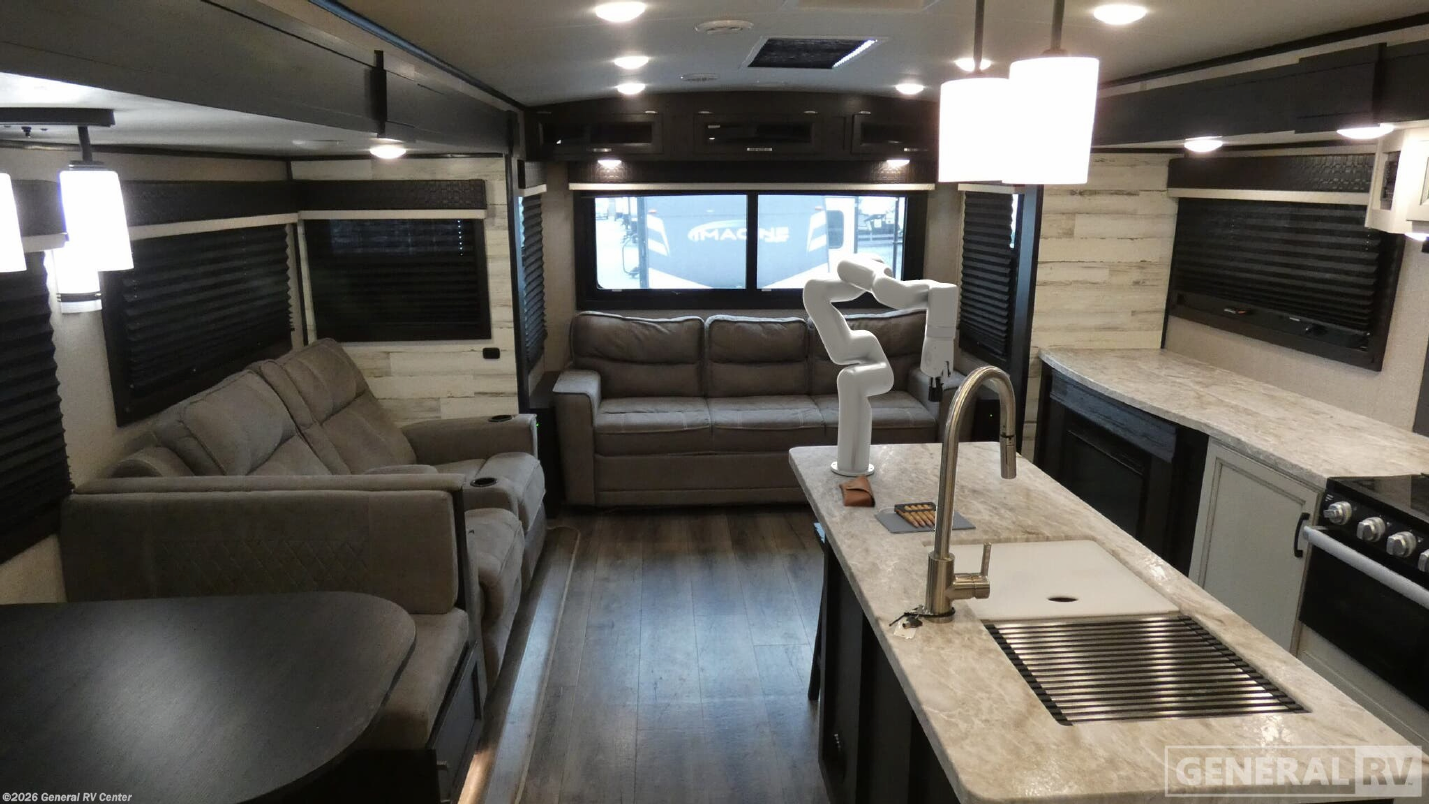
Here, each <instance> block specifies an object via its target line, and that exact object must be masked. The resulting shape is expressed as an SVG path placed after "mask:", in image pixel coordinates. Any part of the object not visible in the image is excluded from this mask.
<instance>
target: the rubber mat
mask: <svg viewBox="0 0 1429 804" xmlns="http://www.w3.org/2000/svg"><path fill="white" fill-rule="evenodd" d="M953 510H954V516H953V526H952V530H951V531H954V530H953V529H959V530H971V529H972V530H973V529H974V530H976V529H977V527H976V526H975V525H974V524H973V523H972V522H971V521H969V520H968V519H967V518H965V517H964V515H962V514H960V513H959V512H958V511H956V509H953ZM873 517H875V518H876V519H877V521H878V522H879V523H880V524H881V525H882V526H883V527H884V528H885V527H886V530H887V529H888V530H887V531H888V532H889V531H890V532H891V533H894V534H901V533H900V532H910V533H915V532H914V531H927V532H935V531H934V529H935V525H934V524H933V523H932V522H931V523H932V526H929V525H927V524H926V523H925V527H924V526H921V525H920V524H918V525H919V527H916V526H914V525H913V524H911V523H909V522H908V521H907V520H906V519H903V518H902V517H901V516H899V515H898V514H897V513H896V512H890V513H889V512H888V513H875V514H873ZM890 532H889V533H890ZM891 533H890V534H891Z"/></svg>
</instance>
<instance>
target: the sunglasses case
mask: <svg viewBox="0 0 1429 804" xmlns="http://www.w3.org/2000/svg"><path fill="white" fill-rule="evenodd" d="M838 485H839V488H840V490H841V493H842V498H843V506H844V507H855V508H872V509H874V508H875V506H876V499H875V495H874V492H873V489H872V486H871V483H870V481H869V479H868V477H867V476H866V475H864V474H863V475H861V476H856V478H853V479H851V480H848V481H845V482H843V483H840V484H838Z"/></svg>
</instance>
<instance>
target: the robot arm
mask: <svg viewBox="0 0 1429 804" xmlns="http://www.w3.org/2000/svg"><path fill="white" fill-rule="evenodd" d="M884 261H885V260H884V259H883V258H882V257H881V256H880V255H878V254H876V253H871V252H866V253H850V254H847V255H845V256H843V257H841V259H839V261H838V262H837V265H836V272H827V273H826V272H825V273H819V274H815V275H813V276H811V277H809V278H808V279H807V281H806V282H805V283H804V286H803V289H802V299H803V300H802V301H803V305H804V308H805V310H806V313H807V314H808V316H809V318H810V319H811V321H812V322H813V324H814V325H815V327H816V330H817V331H818V334H819V336H820V339H821V341H822V343H823V345H824V348H825V349H826V352H827V353H828V356H829V358H830V360H831V361H832V362H833V363H834V364H836V365H838V366H839V365H841V366H843V365H848V366H846V367H844V368H842V370H841V371H840V372H839V373H838V375H837V379H836V384H837V385H836V386H837V393H838V403H839V404H838V408H839V409H838V429H837V430H838V431H837V448H836V449H837V450H836V451H837V452H836V461H833V462H832V463H831V465H830V470H831V471H832V472H834V473H836V474H838V475H841V476H846V477H859V476H861V475H863V474H864V475H866V477H867V476H870V475H872V474H873V473H874V472H875V466H874V465H873V464H871V463H870V457H871V441H872V425H873V424H872V422H873V409H872V407H871V404H870V401H869V400H868V397H871V396H878V395H881V394H885V393H887V392H889V391H890V390H891V389H892V388H893V385H894V383H895V379H894V377H895V376H894V371H893V368H892V367H891V365H890V362H889V360H888V358H887V356H886V354H885V353H884V350H883V348H882V346H881V344H880V342H879V340H878V338H877V337H876V335H874V334H873V333H872V332H871V331H868V330H865V329H861V330H860V329H859V330H852V329H851V328H850V326H849V325H848V323H847V321H846V318H845V317H844V316H843V314H842V313H841V312H840V311H839V310H838V309H837V308H836V307H835V306H834V305H833V304H832V303H837V302H849V301H853V300H854V299H857V298H859V297H860V296H862V295H863V294H864V293H866V292H868V293H870V294H872V295H873V297H874V298H875V300H876V301H877V302H878V303H880V304H882V305H884V306H886V307H889V308H893V309H895V310H899V311H912V310H923V309H924V310H925V309H926V319H925V332H924V339H923V345H922V351H921V361H920V370H921V372H923V373H924V374H926V376H927V377H928V395H927V401H929V402H930V403H941V402H943V392H944V387H945V384H948V381H949V378H950V377H952V375H953V371H954V353H955V352H954V351H955V350H954V339H956V327H957V317H958V316H957V315H958V307H959V306H958V305H959V293H960V292H959V291H960V289H959V287H958V285H956V284H952V283H946V282H945V283H943V282H938V281H935V280H933V279H920V280H919V279H915V280H905V281H903V280H899V279H896V278H895V277H894V272H893V269H892V268H891V267H890V266H889V265H887V264H885V262H884Z"/></svg>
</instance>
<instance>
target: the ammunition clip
mask: <svg viewBox="0 0 1429 804" xmlns="http://www.w3.org/2000/svg"><path fill="white" fill-rule="evenodd" d="M936 506H937V505H936V503H935V502H934V501H921V502H911V503H910V502H909V503H897V504H895V503H894V508H893V512H894V513H897V514H898V515H899V516H901V517H902V518H903V519H906V520H907V521H908V522H909V523H911V524H913V525H914V526H916V527H919V525H918V524H920V525H921V526H924V527H925V523H926V524H927V525H929V526H932V523H933V524H934V525H935V511H936ZM931 522H932V523H931Z"/></svg>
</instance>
